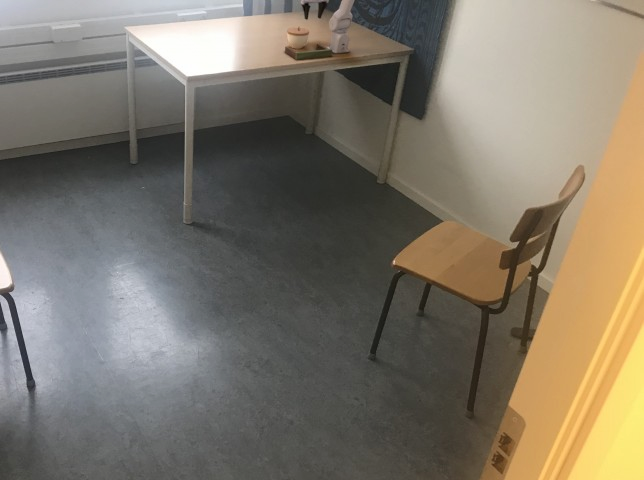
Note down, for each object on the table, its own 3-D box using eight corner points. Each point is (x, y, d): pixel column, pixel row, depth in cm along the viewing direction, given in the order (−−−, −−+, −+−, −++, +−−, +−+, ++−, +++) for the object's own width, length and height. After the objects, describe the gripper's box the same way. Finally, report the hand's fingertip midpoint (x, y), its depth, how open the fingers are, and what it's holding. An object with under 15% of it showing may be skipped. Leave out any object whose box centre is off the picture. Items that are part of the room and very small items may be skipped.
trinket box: (293, 42, 354) (295, 22, 348) (311, 46, 349) (313, 26, 343) (281, 47, 348) (283, 27, 342) (299, 51, 343) (302, 31, 337)
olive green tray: (331, 56, 338) (332, 49, 336) (296, 59, 332) (297, 53, 330) (319, 48, 347) (319, 42, 345) (284, 52, 341) (285, 45, 340)
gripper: (325, -14, 350) (321, 15, 358) (299, -12, 346) (296, 17, 354) (332, -11, 345) (328, 19, 353) (306, -9, 340) (302, 21, 349)
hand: (312, 18), depth 353 cm, fingers open, 7 cm apart
